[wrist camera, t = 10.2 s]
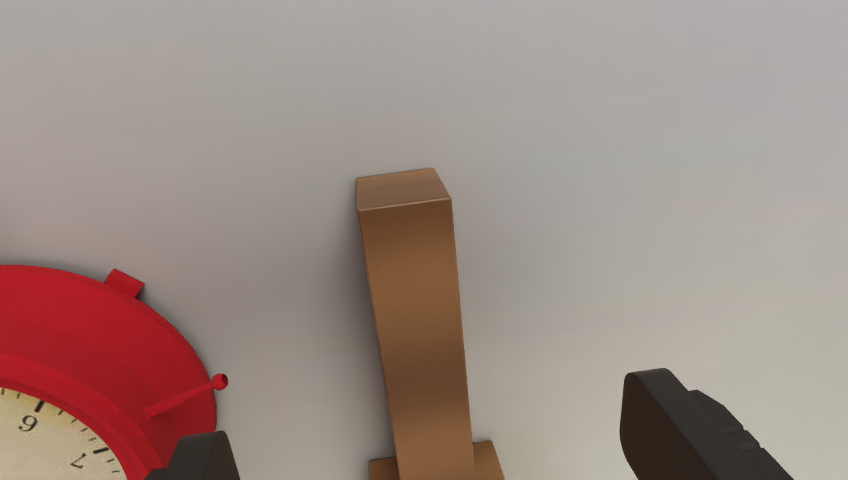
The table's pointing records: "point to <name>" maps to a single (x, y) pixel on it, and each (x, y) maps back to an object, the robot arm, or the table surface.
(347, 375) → the table surface
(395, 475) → the wooden stamp
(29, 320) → the alarm clock
